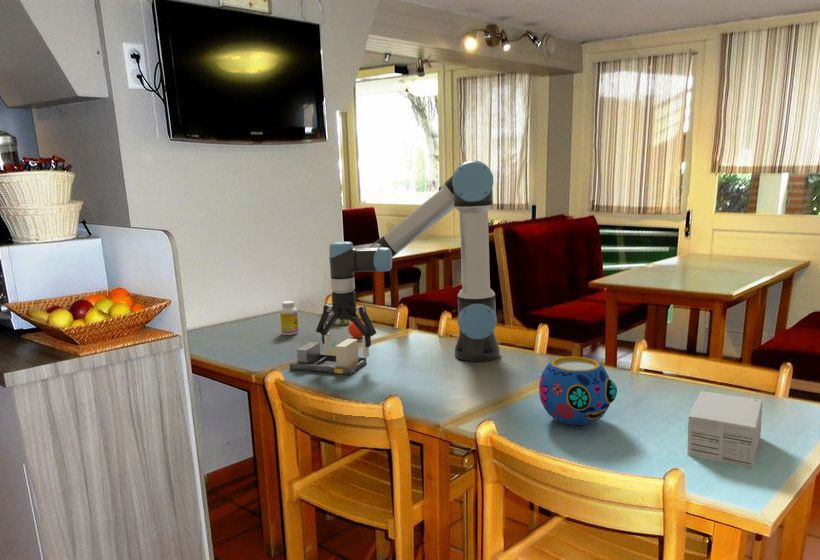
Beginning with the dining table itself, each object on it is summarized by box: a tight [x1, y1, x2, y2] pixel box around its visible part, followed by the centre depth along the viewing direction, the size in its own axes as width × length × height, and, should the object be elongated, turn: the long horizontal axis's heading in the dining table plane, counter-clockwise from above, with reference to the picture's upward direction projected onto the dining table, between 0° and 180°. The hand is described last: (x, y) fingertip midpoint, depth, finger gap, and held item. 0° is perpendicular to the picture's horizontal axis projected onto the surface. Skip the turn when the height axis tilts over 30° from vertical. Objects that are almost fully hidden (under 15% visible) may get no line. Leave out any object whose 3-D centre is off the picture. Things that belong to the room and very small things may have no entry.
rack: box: [289, 341, 367, 376], centre depth 204 cm, size 22×12×7 cm, turn 70°
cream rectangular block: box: [335, 338, 359, 368], centre depth 201 cm, size 4×9×8 cm, turn 160°
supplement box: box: [686, 390, 764, 469], centre depth 138 cm, size 17×13×9 cm
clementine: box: [347, 320, 366, 339], centre depth 238 cm, size 8×7×7 cm
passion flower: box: [326, 302, 351, 325], centre depth 262 cm, size 11×11×12 cm
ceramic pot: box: [538, 356, 618, 426], centre depth 154 cm, size 18×18×15 cm
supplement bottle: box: [279, 300, 299, 336], centre depth 247 cm, size 7×7×13 cm
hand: (347, 355), depth 201 cm, fingers open, 13 cm apart
